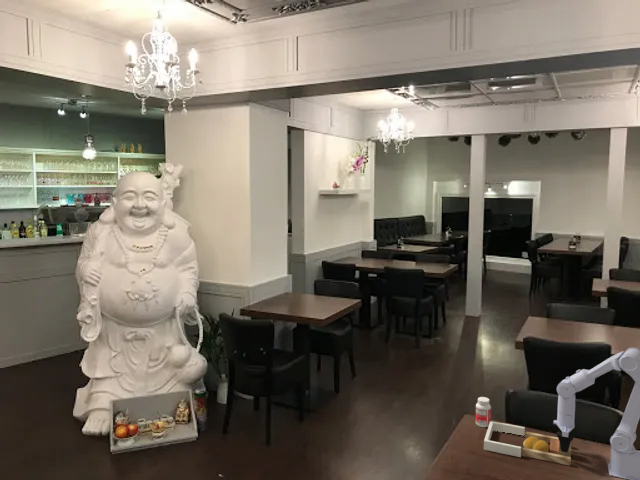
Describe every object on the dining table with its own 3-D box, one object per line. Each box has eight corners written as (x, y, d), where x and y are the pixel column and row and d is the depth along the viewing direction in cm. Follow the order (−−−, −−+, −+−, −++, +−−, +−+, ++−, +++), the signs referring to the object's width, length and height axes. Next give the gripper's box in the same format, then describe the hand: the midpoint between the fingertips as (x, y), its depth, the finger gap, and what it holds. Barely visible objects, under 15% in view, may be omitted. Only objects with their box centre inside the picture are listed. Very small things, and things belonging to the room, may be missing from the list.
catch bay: (524, 435, 202) (524, 427, 202) (520, 457, 186) (520, 448, 186) (490, 428, 208) (490, 420, 208) (483, 449, 192) (483, 440, 191)
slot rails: (570, 446, 193) (570, 439, 193) (570, 465, 180) (570, 459, 180) (525, 437, 201) (525, 431, 200) (522, 455, 187) (522, 449, 187)
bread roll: (543, 458, 186) (543, 447, 185) (520, 448, 193) (520, 438, 192) (553, 450, 191) (554, 440, 191) (531, 441, 198) (531, 431, 198)
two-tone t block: (570, 449, 191) (571, 434, 190) (570, 461, 183) (571, 446, 182) (550, 446, 194) (550, 431, 193) (549, 457, 186) (550, 442, 185)
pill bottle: (485, 420, 216) (486, 395, 215) (493, 426, 210) (494, 401, 209) (472, 421, 214) (473, 397, 213) (480, 428, 208) (480, 403, 207)
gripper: (554, 402, 194) (553, 435, 196) (553, 417, 181) (552, 453, 183) (575, 405, 191) (573, 439, 193) (575, 421, 178) (573, 458, 180)
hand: (564, 446), depth 187 cm, fingers open, 7 cm apart
